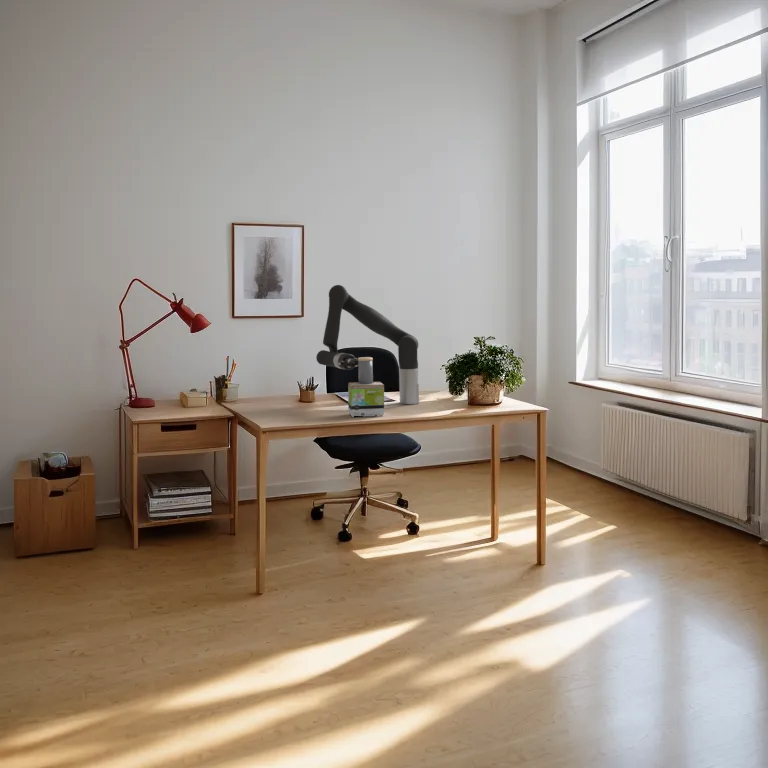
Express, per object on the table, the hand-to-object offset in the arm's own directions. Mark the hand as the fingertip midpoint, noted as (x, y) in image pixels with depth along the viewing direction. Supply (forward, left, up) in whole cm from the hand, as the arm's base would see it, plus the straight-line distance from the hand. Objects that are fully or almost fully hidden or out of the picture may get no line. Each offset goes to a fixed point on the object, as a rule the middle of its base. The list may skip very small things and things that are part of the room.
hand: (362, 364), depth 364 cm
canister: (-1, +2, -8) cm, 9 cm away
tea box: (-1, +2, -23) cm, 23 cm away
